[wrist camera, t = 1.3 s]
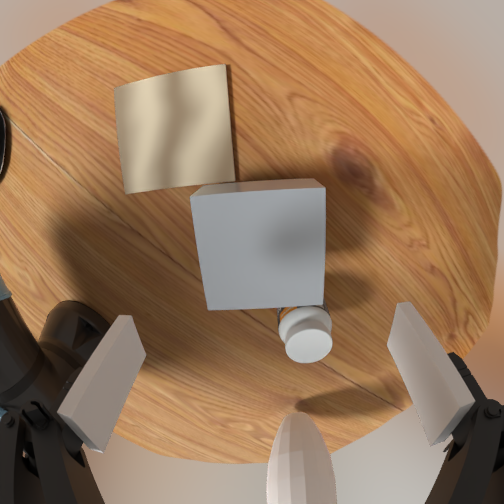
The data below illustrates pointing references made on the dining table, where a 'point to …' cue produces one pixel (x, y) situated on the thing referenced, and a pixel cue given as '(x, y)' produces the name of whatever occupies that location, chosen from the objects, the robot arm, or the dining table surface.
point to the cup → (300, 464)
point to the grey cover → (261, 243)
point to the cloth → (175, 130)
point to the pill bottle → (305, 331)
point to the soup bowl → (2, 139)
